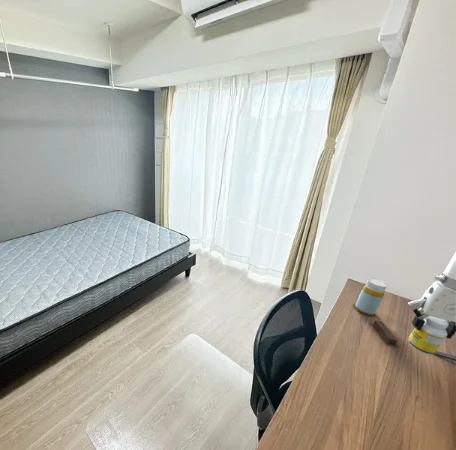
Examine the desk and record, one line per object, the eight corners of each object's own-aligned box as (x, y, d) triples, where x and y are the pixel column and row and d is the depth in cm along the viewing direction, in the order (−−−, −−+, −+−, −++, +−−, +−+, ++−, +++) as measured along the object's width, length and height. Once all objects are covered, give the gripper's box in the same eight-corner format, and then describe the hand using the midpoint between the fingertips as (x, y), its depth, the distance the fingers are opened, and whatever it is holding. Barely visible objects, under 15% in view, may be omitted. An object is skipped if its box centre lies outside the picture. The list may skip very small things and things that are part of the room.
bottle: (372, 308, 109) (386, 280, 104) (376, 318, 104) (390, 289, 98) (353, 302, 113) (365, 275, 107) (356, 311, 107) (368, 283, 101)
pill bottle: (408, 336, 84) (423, 309, 79) (435, 348, 79) (453, 321, 75) (405, 345, 80) (421, 318, 75) (433, 359, 75) (452, 331, 71)
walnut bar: (372, 324, 100) (375, 319, 99) (379, 325, 100) (382, 321, 99) (387, 343, 91) (390, 338, 90) (395, 345, 91) (398, 340, 90)
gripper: (427, 282, 70) (400, 330, 77) (514, 301, 64) (476, 350, 70) (414, 270, 76) (390, 314, 83) (491, 285, 70) (459, 332, 77)
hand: (430, 330), depth 77 cm, fingers closed on pill bottle, 6 cm apart
